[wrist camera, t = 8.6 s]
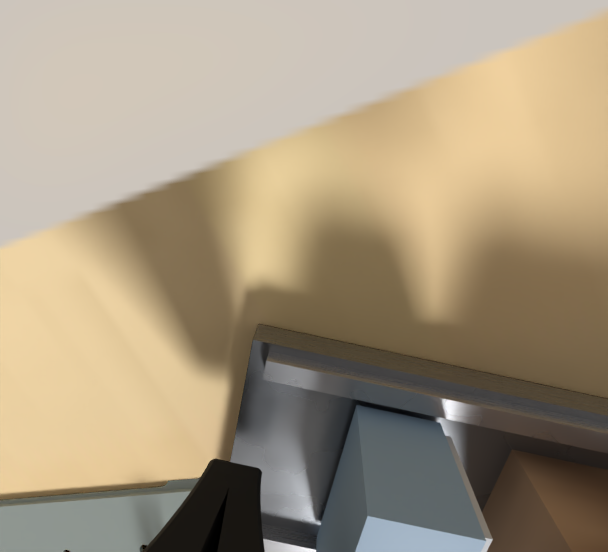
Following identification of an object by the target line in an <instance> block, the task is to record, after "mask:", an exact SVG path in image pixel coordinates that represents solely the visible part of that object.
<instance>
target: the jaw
mask: <svg viewBox="0 0 608 552" xmlns="http://www.w3.org/2000/svg"><path fill="white" fill-rule="evenodd" d="M492 540H493V539H492V536H491V534H490V531H489V529H488V527H487V524H486V522H485V519H484V517H483V514H482V512H481V509H480V507H479V504H478V502H477V499H476V497H475V495H474V492H473V490H472V487H471V485H470V482H469V480H468V477H467V475H466V472H465V470H464V467H463V465H462V463H461V460H460V458H459V455H458V453H457V450H456V448H455V445H454V443H453V440H452V438H451V437H449V436H445V433H444V431H443V428H442V426H441V423H439V422H435V421H430V420H425V419H421V418H416V417H411V416H407V415H402V414H397V413H393V412H388V411H383V410H379V409H374V408H369V407H364V406H360V405H356V408H355V412H354V415H353V418H352V422H351V425H350V428H349V432H348V435H347V438H346V442H345V445H344V448H343V452H342V455H341V458H340V462H339V465H338V468H337V472H336V475H335V478H334V482H333V485H332V488H331V491H330V495H329V498H328V501H327V505H326V508H325V511H324V515H323V518H322V521H321V525H320V528H319V531H318V535H317V546H316V552H487V550H488V548H489V546H490V544H491V542H492Z"/></svg>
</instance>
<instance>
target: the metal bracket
mask: <svg viewBox="0 0 608 552" xmlns="http://www.w3.org/2000/svg"><path fill="white" fill-rule="evenodd" d="M199 479H200V478H198V479H185V480H172V481H168V482H167V484H166V485H164V486H162V487H151V488H139V489H127V490H114V491H102V492H90V493H78V494H66V495H54V496H42V497H30V498H17V499H5V500H0V552H65V550H69V551H70V552H142V551H143V548H142V545H147V546H148V545H149V543H150V542H151V541H152V540H153V539H154V538H155V537H156V535H157V534H158V533H159V532H160V531H161V530H162V528H163V527H164V526H165V525H166V523H167V522H168V521H169V520H170V518H171V517H172V516H173V514H174V513H175V512H176V511H177V509H178V508H179V507H180V506H181V504H182V503H183V502H184V500H185V499H186V498H187V496H188V495H189V493H190V492H191V491H192V489H193V488H194V486H195V485H196V483H197V482H198V480H199Z"/></svg>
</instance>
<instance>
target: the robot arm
mask: <svg viewBox="0 0 608 552" xmlns="http://www.w3.org/2000/svg"><path fill="white" fill-rule="evenodd" d="M261 477H262V471H261V470H260V469H259V468H256V467H252V466H247V465H242V464H238V463H233V462H228V461H223V460H219V459H213V460H211V461H210V462H209V464H208V466H207V468H206V469H205V471H204V473H203V474H202V476H201V477H200V479H199V480H198V482H197V483H196V485H195V486H194V488H193V489H192V491H191V492H190V493H189V495H188V496H187V498H186V499H185V500H184V502H183V503H182V504H181V506H180V507H179V508H178V509H177V511H176V512H175V513H174V514H173V516H172V517H171V518H170V520H169V521H168V522H167V523H166V525H165V526H164V527H163V528H162V530H161V531H160V532H159V533H158V534H157V535H156V537H155V538H154V539H153V540H152V541H151V542H150V543H149V545H148V546H147V547H146V548H145V549H144V550H143V551H142V552H265V550H264V541H263V532H262V521H261Z"/></svg>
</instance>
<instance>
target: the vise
mask: <svg viewBox="0 0 608 552" xmlns="http://www.w3.org/2000/svg"><path fill="white" fill-rule="evenodd" d="M356 405H360V406H364V407H369V408H374V409H379V410H383V411H388V412H393V413H397V414H402V415H407V416H411V417H416V418H421V419H425V420H430V421H435V422H439V423H441V426H442V428H443V431H444V433H445V436H449V437H451V438H452V440H453V443H454V445H455V448H456V450H457V453H458V455H459V458H460V460H461V463H462V465H463V467H464V470H465V472H466V475H467V477H468V480H469V482H470V485H471V487H472V490H473V492H474V495H475V497H476V499H477V502H478V504H479V507H480V509H481V512H482V511H483V509H484V507H485V505H486V503H487V501H488V499H489V497H490V494H491V492H492V490H493V488H494V486H495V484H496V482H497V480H498V478H499V476H500V473H501V471H502V469H503V467H504V465H505V463H506V461H507V459H508V457H509V455H510V452H511V450H517V451H522V452H526V453H531V454H536V455H541V456H545V457H550V458H555V459H559V460H564V461H569V462H573V463H578V464H583V465H587V466H592V467H597V468H601V469H606V470H608V399H606V398H601V397H596V396H592V395H587V394H582V393H578V392H573V391H568V390H564V389H559V388H554V387H550V386H545V385H540V384H536V383H531V382H526V381H522V380H517V379H513V378H508V377H503V376H499V375H494V374H489V373H485V372H480V371H475V370H471V369H466V368H461V367H457V366H452V365H447V364H443V363H438V362H434V361H429V360H424V359H420V358H415V357H410V356H406V355H401V354H396V353H392V352H387V351H382V350H378V349H373V348H368V347H364V346H359V345H354V344H350V343H345V342H341V341H336V340H331V339H327V338H322V337H317V336H313V335H308V334H303V333H299V332H294V331H289V330H285V329H280V328H275V327H271V326H266V325H261V324H259V325H258V328H257V330H256V333H255V336H254V338H253V342H252V347H251V353H250V358H249V363H248V369H247V374H246V380H245V385H244V390H243V396H242V401H241V407H240V412H239V417H238V423H237V428H236V434H235V439H234V444H233V450H232V455H231V461H230V462H233V463H238V464H242V465H247V466H252V467H256V468H259V469H260V470H261V471H262V477H261V521H262V532H263V541H264V550H265V552H316V546H317V535H318V531H319V528H320V525H321V521H322V518H323V515H324V511H325V508H326V505H327V501H328V498H329V495H330V491H331V488H332V485H333V482H334V478H335V475H336V472H337V468H338V465H339V462H340V458H341V455H342V452H343V448H344V445H345V442H346V438H347V435H348V432H349V428H350V425H351V422H352V418H353V415H354V412H355V408H356Z"/></svg>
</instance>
